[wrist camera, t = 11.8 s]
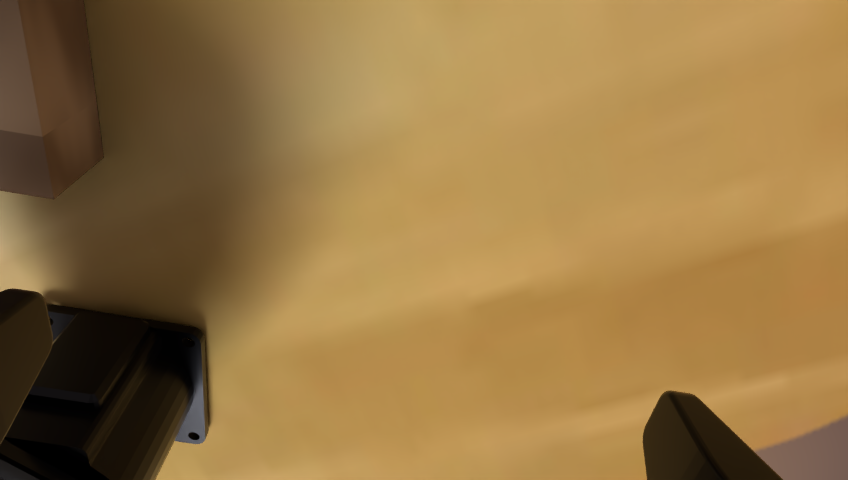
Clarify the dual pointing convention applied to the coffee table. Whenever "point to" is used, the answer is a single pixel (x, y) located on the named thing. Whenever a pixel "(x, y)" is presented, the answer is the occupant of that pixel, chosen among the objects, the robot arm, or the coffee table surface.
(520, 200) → the coffee table surface
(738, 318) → the coffee table surface
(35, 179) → the well block
